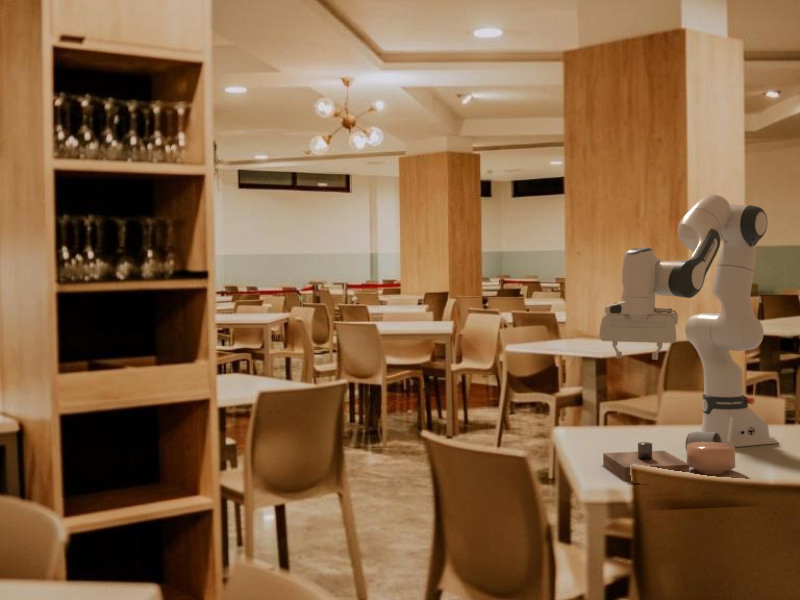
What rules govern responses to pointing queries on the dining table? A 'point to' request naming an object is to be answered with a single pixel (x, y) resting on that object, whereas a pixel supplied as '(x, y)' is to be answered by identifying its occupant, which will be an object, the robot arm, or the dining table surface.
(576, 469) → the dining table surface
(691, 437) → the ceramic mug
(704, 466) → the bowl
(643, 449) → the lid
